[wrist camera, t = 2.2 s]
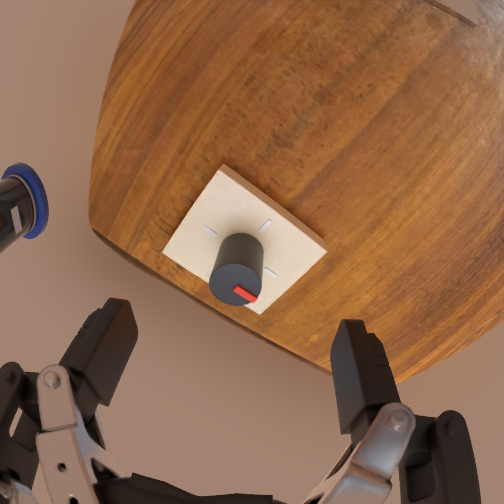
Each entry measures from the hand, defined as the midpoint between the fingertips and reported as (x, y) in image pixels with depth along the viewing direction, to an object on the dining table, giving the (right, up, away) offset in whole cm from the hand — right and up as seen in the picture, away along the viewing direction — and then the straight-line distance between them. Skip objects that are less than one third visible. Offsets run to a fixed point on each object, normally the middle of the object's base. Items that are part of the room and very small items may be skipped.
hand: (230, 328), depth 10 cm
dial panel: (0, +4, +17) cm, 18 cm away
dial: (0, +3, +15) cm, 15 cm away
